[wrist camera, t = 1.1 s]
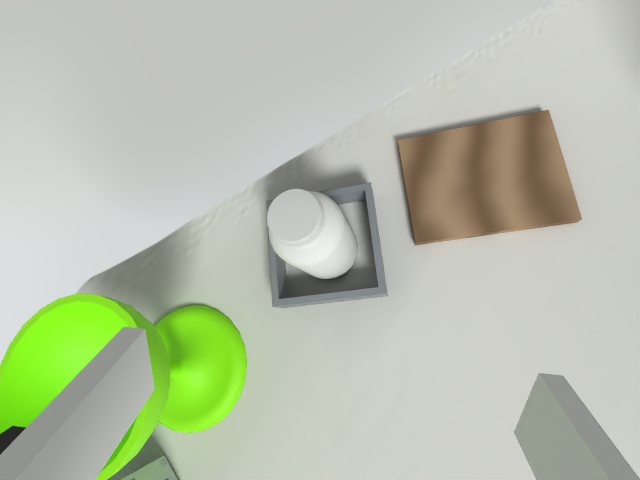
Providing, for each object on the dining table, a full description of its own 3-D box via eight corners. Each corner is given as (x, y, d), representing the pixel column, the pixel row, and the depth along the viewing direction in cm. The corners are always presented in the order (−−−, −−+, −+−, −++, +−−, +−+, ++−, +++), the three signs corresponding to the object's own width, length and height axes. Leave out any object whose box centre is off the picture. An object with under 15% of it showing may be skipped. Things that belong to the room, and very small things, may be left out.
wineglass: (121, 348, 49) (-27, 361, 32) (211, 281, 49) (107, 257, 32) (168, 458, 44) (21, 542, 27) (269, 385, 43) (182, 423, 26)
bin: (372, 192, 46) (370, 182, 43) (387, 295, 43) (386, 293, 39) (275, 209, 49) (266, 201, 46) (282, 308, 45) (272, 306, 42)
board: (544, 115, 43) (548, 109, 42) (576, 222, 40) (581, 219, 39) (398, 144, 47) (397, 140, 46) (415, 245, 43) (415, 242, 42)
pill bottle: (307, 215, 48) (267, 168, 33) (365, 227, 45) (347, 182, 31) (291, 271, 46) (241, 247, 32) (349, 287, 44) (323, 268, 30)
